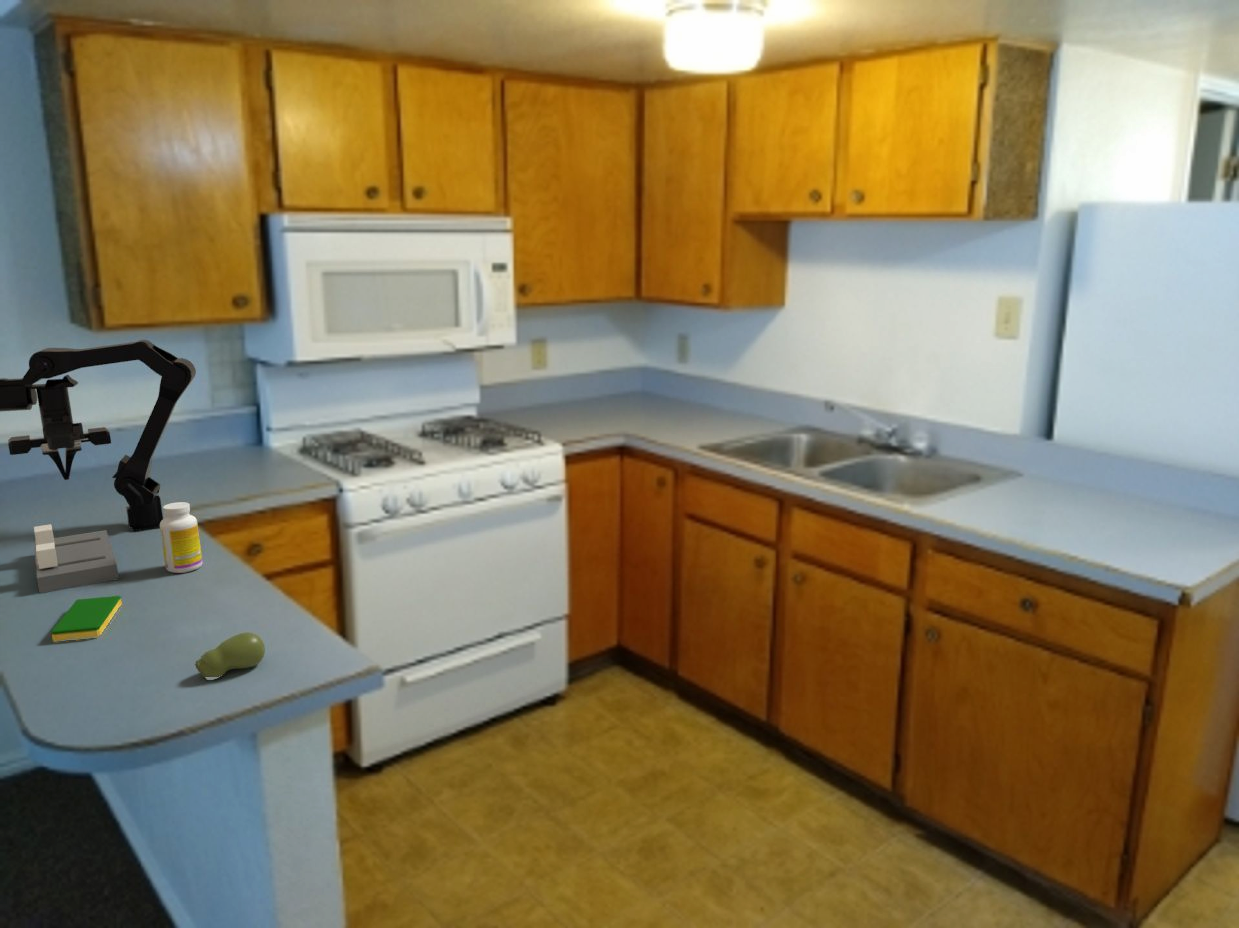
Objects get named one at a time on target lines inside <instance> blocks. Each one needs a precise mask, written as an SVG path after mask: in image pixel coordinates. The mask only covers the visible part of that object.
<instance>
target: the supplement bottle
mask: <svg viewBox="0 0 1239 928" xmlns="http://www.w3.org/2000/svg"><path fill="white" fill-rule="evenodd" d="M190 510H191V506H190V503H189V502H186V501H185V502H184V501H183V502H181V501H179V502H171V503H168V504H165V505H163V507H162V514H163V515H164V516H165V517H163V520H162V521H161V523H160V527H159V529H160V537H161V543H162V544H161V545H162V551H163V557H164V558H163V559H164V566H165V569H166V571H168V572H169V573H174V574H183V573H191V572H193V571H195V570H198V569H200V568H201V567H202V566H203V556H202V555H203V554H202V546H201V541H200V533H199V524H198V519H197V518H196V517H195V516H194V515H192V514H190Z"/></svg>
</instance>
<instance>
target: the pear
mask: <svg viewBox="0 0 1239 928" xmlns="http://www.w3.org/2000/svg"><path fill="white" fill-rule="evenodd" d="M265 653H266V646H265V643H264V642H263V639H262V638H261V637H260V636H259V635H257V634H256V633H254V632H243V633H239V634H236V635H234V636H233V635H232V636H231V637H229V638H227V639H226V640H224V641H222V642H220V644H219V645H217V647H215V648H212V649H209V650H208V651H206V652H205V653H203V654H202V655H201V656H200V659H198V660H196V661H195V663H194V666H195V668H196V669H197V671H198V672H199V674H200V676H202V677H203V678H204V677H219V676H221V675H223V674H224V675H225V673H226V672H228V671H229V670H233V669H234V670H236V669H238V670H239V669H250V668H249V667H251V668H253V667H256V666H257V665H258V664H260V663H261V662H262V660H263V659H264V657H265ZM252 666H253V667H252ZM224 675H223V676H224Z"/></svg>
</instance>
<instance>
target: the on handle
mask: <svg viewBox="0 0 1239 928" xmlns="http://www.w3.org/2000/svg"><path fill="white" fill-rule="evenodd" d="M36 553H37V559H38V565H39V569H43V568H49V567H55V566H58V563H57V557H56V551H55V545H54V542H53V543H46V544H40V545H36Z"/></svg>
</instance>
